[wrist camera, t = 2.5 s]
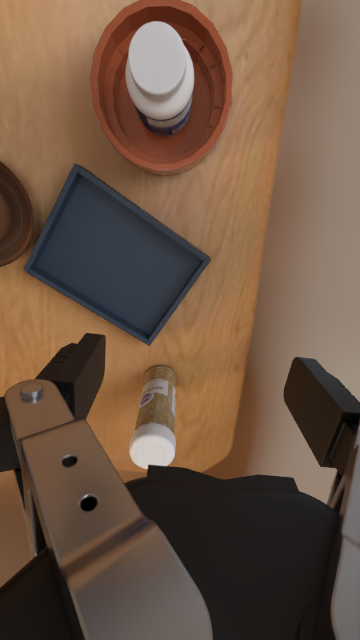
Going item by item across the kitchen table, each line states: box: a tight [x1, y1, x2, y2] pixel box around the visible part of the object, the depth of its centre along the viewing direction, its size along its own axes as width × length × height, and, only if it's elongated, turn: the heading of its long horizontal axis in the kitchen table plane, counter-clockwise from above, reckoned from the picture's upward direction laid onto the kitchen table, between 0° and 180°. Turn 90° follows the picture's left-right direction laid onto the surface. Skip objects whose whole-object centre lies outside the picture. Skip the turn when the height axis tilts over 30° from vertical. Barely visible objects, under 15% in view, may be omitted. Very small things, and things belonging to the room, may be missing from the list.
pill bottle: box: [125, 21, 194, 137], centre depth 24 cm, size 5×5×10 cm
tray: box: [23, 164, 211, 346], centre depth 33 cm, size 17×13×2 cm
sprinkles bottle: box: [129, 366, 176, 469], centre depth 34 cm, size 5×5×14 cm
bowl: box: [91, 0, 233, 175], centre depth 27 cm, size 12×12×4 cm
